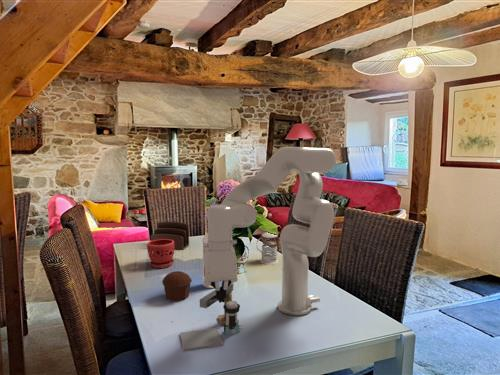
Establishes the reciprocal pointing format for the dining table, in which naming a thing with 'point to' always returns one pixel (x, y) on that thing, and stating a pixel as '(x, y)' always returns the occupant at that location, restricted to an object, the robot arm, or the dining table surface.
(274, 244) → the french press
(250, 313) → the dining table surface
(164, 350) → the dining table surface
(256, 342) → the dining table surface
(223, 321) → the post
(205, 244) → the water bottle
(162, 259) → the plant pot
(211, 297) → the steel strap
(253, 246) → the dining table surface
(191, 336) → the rubber mat
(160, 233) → the letter holder
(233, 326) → the push button
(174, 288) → the muffin
